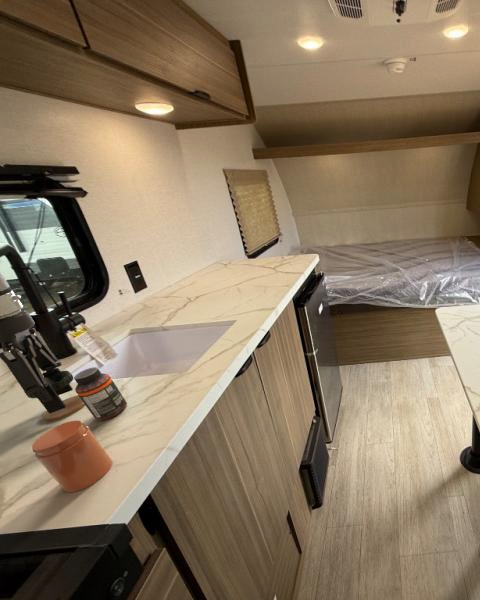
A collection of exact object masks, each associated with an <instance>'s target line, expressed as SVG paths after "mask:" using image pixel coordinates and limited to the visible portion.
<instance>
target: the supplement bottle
mask: <svg viewBox="0 0 480 600" xmlns="http://www.w3.org/2000/svg"><path fill="white" fill-rule="evenodd" d="M73 378H74V379H73V380H74V381H75V383H76V386H75V389H74V391H75V393H76V394H77V395H78V396H79V397H80V398H81V400H82V401H83V402H84V404H85V407H86V409H87V410H88V411H89V412H90V414H91V415H92V417H93V418H94V419H95V420H96V421H105V420H110V419H112V418H114V417H116V416H118V415H119V414H120V413H122V412H123V411H124V410H125V409H126V407H127V405H128V403H127V401H126V399H125V397H124V396H123V394H122V393H121V392H120V389H119V388H118V387H117V385H116V383H115V382H114V380H113V379H112V377H111V376H110V375H109V374H108V373H102V372H101V371H100V369H99V368H98V367H93V366H92V367H89V368H86V369H84V370H82V371H80V372H78V373H77V374H75V375H74V376H73Z"/></svg>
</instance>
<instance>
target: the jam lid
mask: <svg viewBox="0 0 480 600" xmlns="http://www.w3.org/2000/svg"><path fill="white" fill-rule="evenodd" d="M43 377H44V379H45V381H46V383H47V384H50V385H51V386H52V387H53V389H54V390H55V392H56V391H58V390H60V389H62V388H64V387H66V386H67V385H68V384H70V385H71V383H72V382H73V381H74V380H75V379H74V376H73V374H72V373H71V372H70V371H69V370H60V371H59V372H55V373H52V374H49V375H46V376H43ZM25 395H26V396H27V398H29V399H38V398H37V397H36V396H35V394H34V393H33V392H31V393H28V394H25Z"/></svg>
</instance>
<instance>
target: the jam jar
mask: <svg viewBox="0 0 480 600" xmlns="http://www.w3.org/2000/svg"><path fill="white" fill-rule="evenodd" d="M31 448H32V452H33V453H34V457H35V458H36V459H37V460H38V461H39V463H40V464H41V465H42V466H43V467H44V468H45V469H46V471H47V472H48V473H49V474H50V475H51V476H52V478H53V479H54V480H55V482H57V484H58V485H59V486H60V487H61V488H62V490H63V491H64V492H66V493H76V492H79V491H82V490H85V489H86V488H88V487H90V486H92V485H94V484H95V483H97V482H98V481H99V480H100V479H102V478H103V477H104V476H105V475H106V474H107V473H108V472H109V471H110V469H111V468H112V466H113V459H112V458H111V457H110V455H109V454H108V452H107V451H106V449H105V448H104V447H103V445H102V444H101V443H100V441H99V440H98V439H97V437H96V435H94V433H93V432H92V430H91V429H90V427H89V426H88V425H84V423H83V422H82V421H81V420H77V419H76V420H70V421H67V422H63V423H61V424H59V425H57V426H55V427H53V428H51V429H49V430H47V431H45V432H44V433H43V434H41V435H40V436H38V438H36V440H35V441H34V442H33V444H32V445H31Z"/></svg>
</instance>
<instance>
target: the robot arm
mask: <svg viewBox="0 0 480 600" xmlns="http://www.w3.org/2000/svg"><path fill="white" fill-rule="evenodd" d="M21 299H22V296H21V295H20V294H15V292H14V290H13V289H12V287H11V286H10V284H9V283H8V281H7V280H6V278H5V276H4V275H3V274H2V273H1V271H0V344H1V349H2V352H0V359H1V361H2V362H4V364H5V365H6V366H7V367H8V369H9V371H10V372H11V374H12V375H13V377H14V378H15V380H16V381H17V383H18V385H19V386H20V387H21V389H22V390H23V392H24V394H25V395H26V394H28V393H31V392H33V393H34V394H35V396H36V397H37V398H36V399H38V401H39V403H41V405H42V406H43V408H44V409H45V411H48V412H49V414H50V413H53V412H56V411H58V410H61V409H63V408H66V405H65V404H64V402H63V400H62V398H61V397H60V396H61V395H64V394H66V393H69V392H72V391H73V390H74V388H73V386H72V385H71V383H70V384H68V385H67V386H66V387H64V388H62V389H60V390H58V391H56V392H55V390H54V389H53V387H52V386H51V385H50V384H47V383H46V381H45V379H44V376H46V375H49V374H52V373H55V372H59V371H61V370H60V368H59V367H62V366H63V364H62V362H61V361H59V359H58V358H57V357H56V356H55V354H54V353H53V352H52V350H51V349H50V348H49V346H47V344H46V343H45V341H44V340H43V339H42V338H41V337H40V335H39V333H38V332H37V329H36V328H34V326H35V324H36V323H35V321H34V319H33V317H32V316H31V315H30V313H29V312H28V310H26V309H23V308H24V305H23V303H22V302H21V301H20V300H21Z"/></svg>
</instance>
